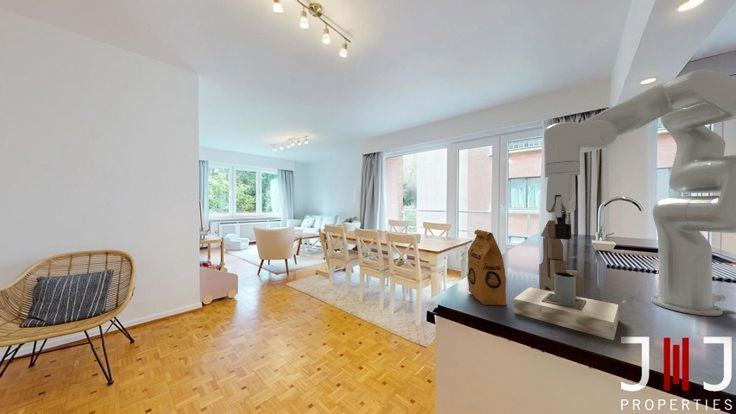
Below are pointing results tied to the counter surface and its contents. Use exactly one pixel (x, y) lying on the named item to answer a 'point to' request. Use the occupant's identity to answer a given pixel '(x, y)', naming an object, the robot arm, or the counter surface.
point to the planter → (565, 289)
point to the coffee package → (486, 270)
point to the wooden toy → (554, 261)
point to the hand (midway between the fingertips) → (563, 238)
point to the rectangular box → (569, 312)
